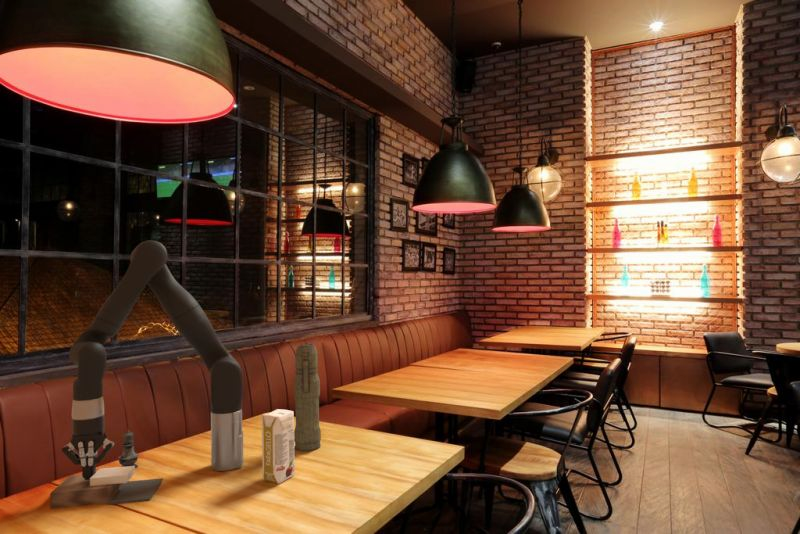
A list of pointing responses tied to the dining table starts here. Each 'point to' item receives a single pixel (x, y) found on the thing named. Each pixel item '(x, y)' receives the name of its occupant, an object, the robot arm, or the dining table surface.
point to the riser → (81, 493)
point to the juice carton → (278, 445)
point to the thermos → (307, 399)
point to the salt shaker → (128, 451)
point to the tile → (112, 475)
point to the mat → (136, 491)
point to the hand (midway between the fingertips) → (88, 478)
